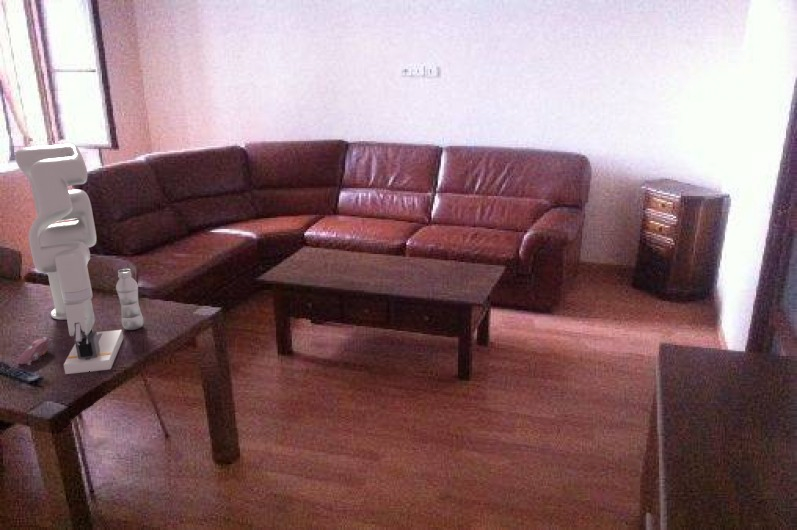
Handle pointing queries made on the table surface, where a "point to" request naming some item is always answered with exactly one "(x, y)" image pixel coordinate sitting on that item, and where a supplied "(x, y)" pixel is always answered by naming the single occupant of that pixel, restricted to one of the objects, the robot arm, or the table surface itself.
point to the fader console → (105, 358)
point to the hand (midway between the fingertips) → (88, 351)
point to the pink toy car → (35, 350)
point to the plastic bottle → (129, 300)
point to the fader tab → (94, 344)
